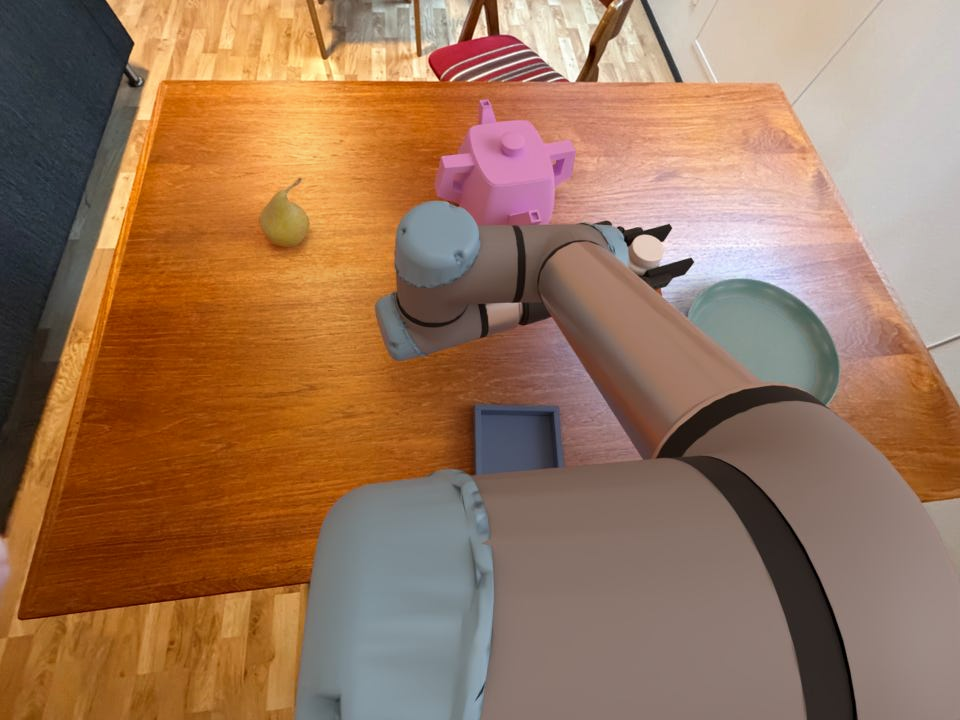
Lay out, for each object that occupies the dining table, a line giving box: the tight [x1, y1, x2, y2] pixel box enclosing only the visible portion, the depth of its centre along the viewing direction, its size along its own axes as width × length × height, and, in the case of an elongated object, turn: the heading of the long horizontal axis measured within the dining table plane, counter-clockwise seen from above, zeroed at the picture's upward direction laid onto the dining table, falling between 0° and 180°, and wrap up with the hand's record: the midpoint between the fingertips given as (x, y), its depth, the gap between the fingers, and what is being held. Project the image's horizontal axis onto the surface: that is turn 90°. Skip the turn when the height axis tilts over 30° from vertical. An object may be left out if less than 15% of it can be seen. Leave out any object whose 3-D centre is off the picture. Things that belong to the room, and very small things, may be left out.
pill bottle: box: [628, 235, 665, 277], centre depth 70 cm, size 5×5×8 cm
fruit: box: [259, 177, 310, 248], centre depth 80 cm, size 7×8×12 cm
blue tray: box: [472, 403, 565, 475], centre depth 73 cm, size 12×12×3 cm
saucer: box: [686, 278, 841, 407], centre depth 84 cm, size 24×24×3 cm
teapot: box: [433, 99, 577, 225], centre depth 86 cm, size 19×18×15 cm
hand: (676, 249), depth 70 cm, fingers closed on pill bottle, 5 cm apart
